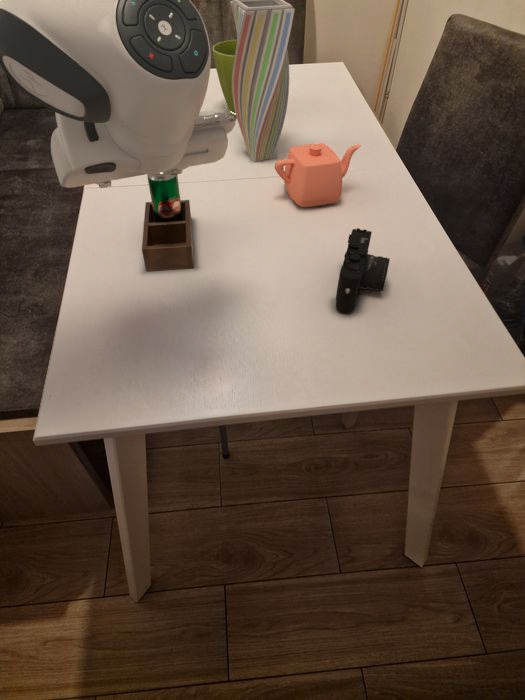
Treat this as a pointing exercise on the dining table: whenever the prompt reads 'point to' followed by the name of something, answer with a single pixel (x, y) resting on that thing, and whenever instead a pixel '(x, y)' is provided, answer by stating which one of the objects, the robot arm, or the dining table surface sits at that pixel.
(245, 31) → the vase
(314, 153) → the teapot
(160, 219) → the soda can
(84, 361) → the dining table surface
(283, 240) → the dining table surface
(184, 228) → the caddy
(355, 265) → the camera
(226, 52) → the flower pot
